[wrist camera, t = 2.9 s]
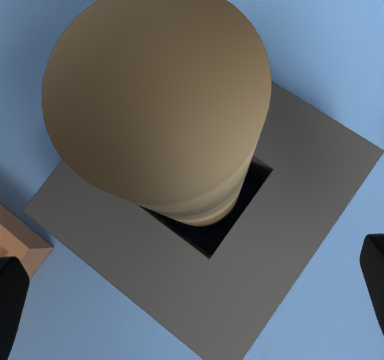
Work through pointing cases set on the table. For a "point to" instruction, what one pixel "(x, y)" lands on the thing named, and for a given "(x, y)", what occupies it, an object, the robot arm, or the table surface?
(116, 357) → the table surface
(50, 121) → the dowel
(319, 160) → the holder
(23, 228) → the tray
